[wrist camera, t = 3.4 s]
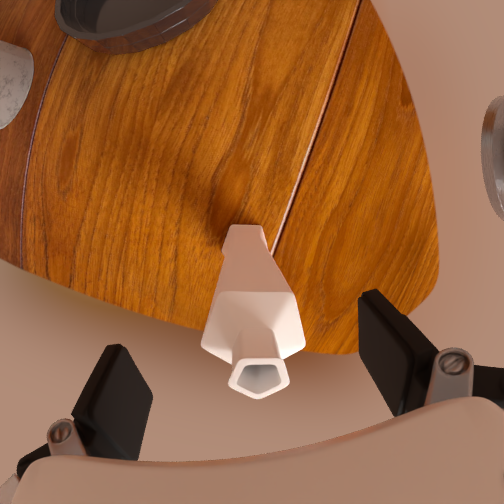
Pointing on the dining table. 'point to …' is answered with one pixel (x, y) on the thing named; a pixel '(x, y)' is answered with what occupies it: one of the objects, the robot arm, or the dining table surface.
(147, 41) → the bowl
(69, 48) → the dining table surface
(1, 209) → the dining table surface
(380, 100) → the dining table surface
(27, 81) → the marbled tin can
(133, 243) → the dining table surface
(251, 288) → the white faceted vase
